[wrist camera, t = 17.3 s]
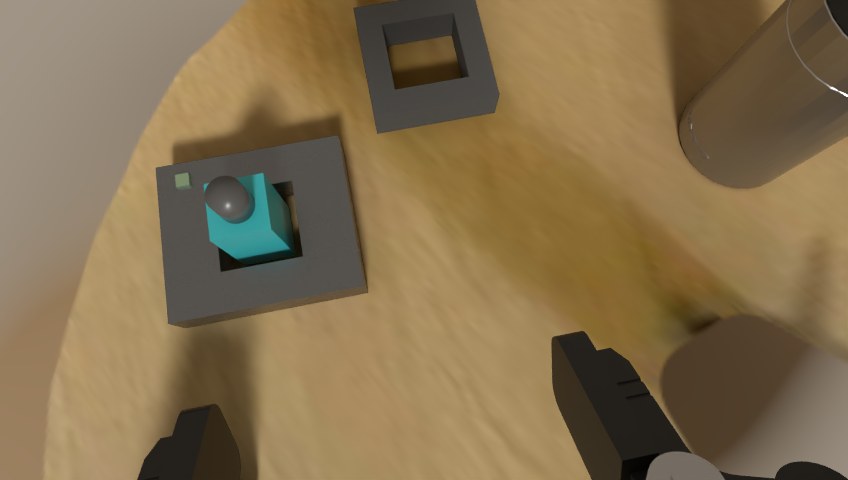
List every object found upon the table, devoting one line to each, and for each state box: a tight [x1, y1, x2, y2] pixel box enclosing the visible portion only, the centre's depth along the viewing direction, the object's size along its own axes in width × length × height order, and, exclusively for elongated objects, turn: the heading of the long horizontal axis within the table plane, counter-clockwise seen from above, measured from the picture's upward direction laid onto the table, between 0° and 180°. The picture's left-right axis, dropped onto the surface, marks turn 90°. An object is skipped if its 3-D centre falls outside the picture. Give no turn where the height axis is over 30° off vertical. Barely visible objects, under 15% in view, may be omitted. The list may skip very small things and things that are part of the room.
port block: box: [156, 135, 368, 328], centre depth 42 cm, size 14×12×3 cm
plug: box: [204, 173, 296, 265], centre depth 39 cm, size 4×4×10 cm
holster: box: [354, 0, 499, 134], centre depth 46 cm, size 10×10×3 cm
